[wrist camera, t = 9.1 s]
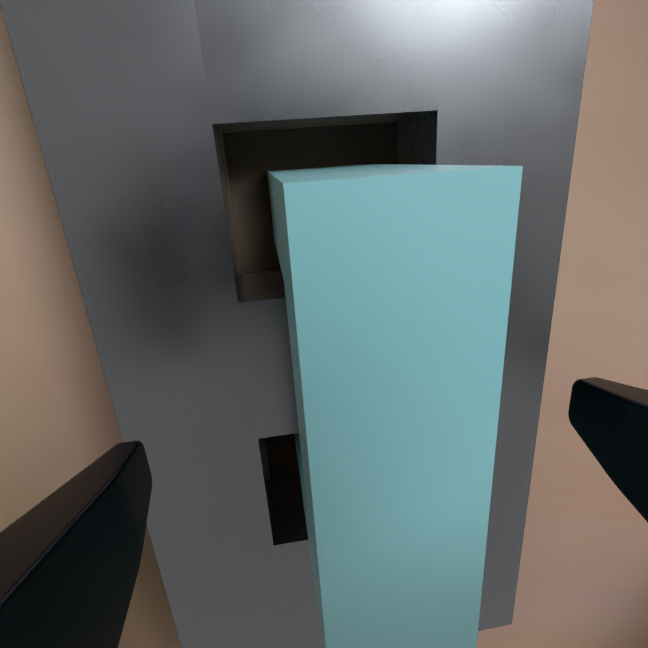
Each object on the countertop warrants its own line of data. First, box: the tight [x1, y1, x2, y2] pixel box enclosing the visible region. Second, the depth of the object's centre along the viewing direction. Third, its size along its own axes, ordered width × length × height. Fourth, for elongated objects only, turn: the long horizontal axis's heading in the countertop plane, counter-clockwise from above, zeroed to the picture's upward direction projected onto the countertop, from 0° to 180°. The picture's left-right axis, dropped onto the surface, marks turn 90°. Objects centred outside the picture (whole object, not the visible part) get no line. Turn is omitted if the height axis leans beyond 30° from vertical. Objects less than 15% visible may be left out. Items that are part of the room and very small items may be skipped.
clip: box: [267, 164, 523, 648], centre depth 11 cm, size 3×10×8 cm, turn 3°
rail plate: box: [0, 0, 594, 648], centre depth 13 cm, size 12×24×3 cm, turn 4°
